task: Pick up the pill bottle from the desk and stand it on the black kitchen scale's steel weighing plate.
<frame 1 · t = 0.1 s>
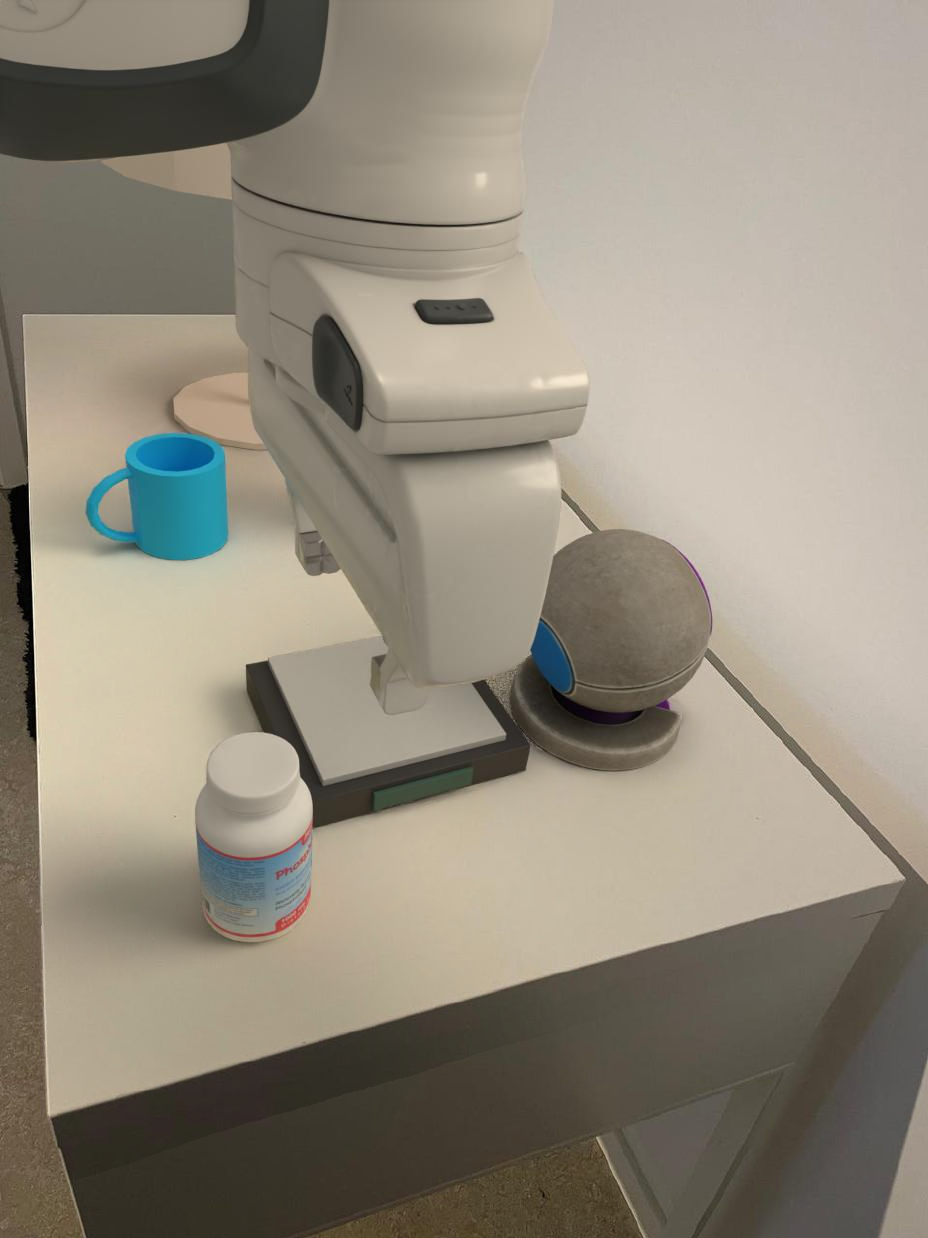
hand: (354, 627, 37), 22 cm above the table, tool pointing down, fingers open, 8 cm apart
scale: (382, 729, 65), on the table
webcam: (591, 711, 69), on the table
pill bottle: (257, 903, 52), on the table
mug: (161, 541, 81), on the table
desk lamp: (262, 412, 105), on the table
speaker: (377, 525, 88), on the table
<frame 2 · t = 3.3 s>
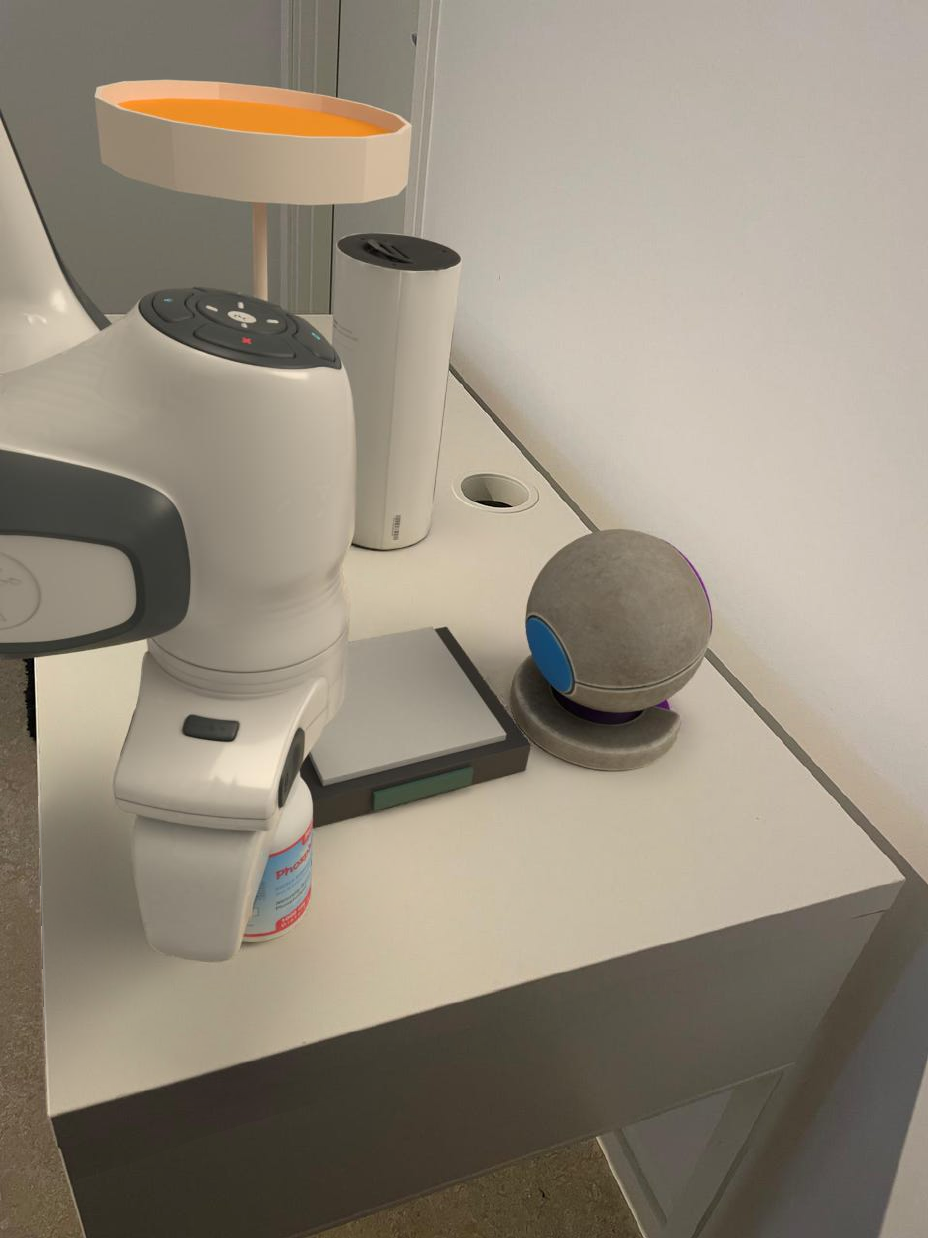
hand: (256, 854, 50), 4 cm above the table, tool pointing down, fingers closed on pill bottle, 6 cm apart
pill bottle: (257, 903, 52), on the table, touching gripper
everything else where it was.
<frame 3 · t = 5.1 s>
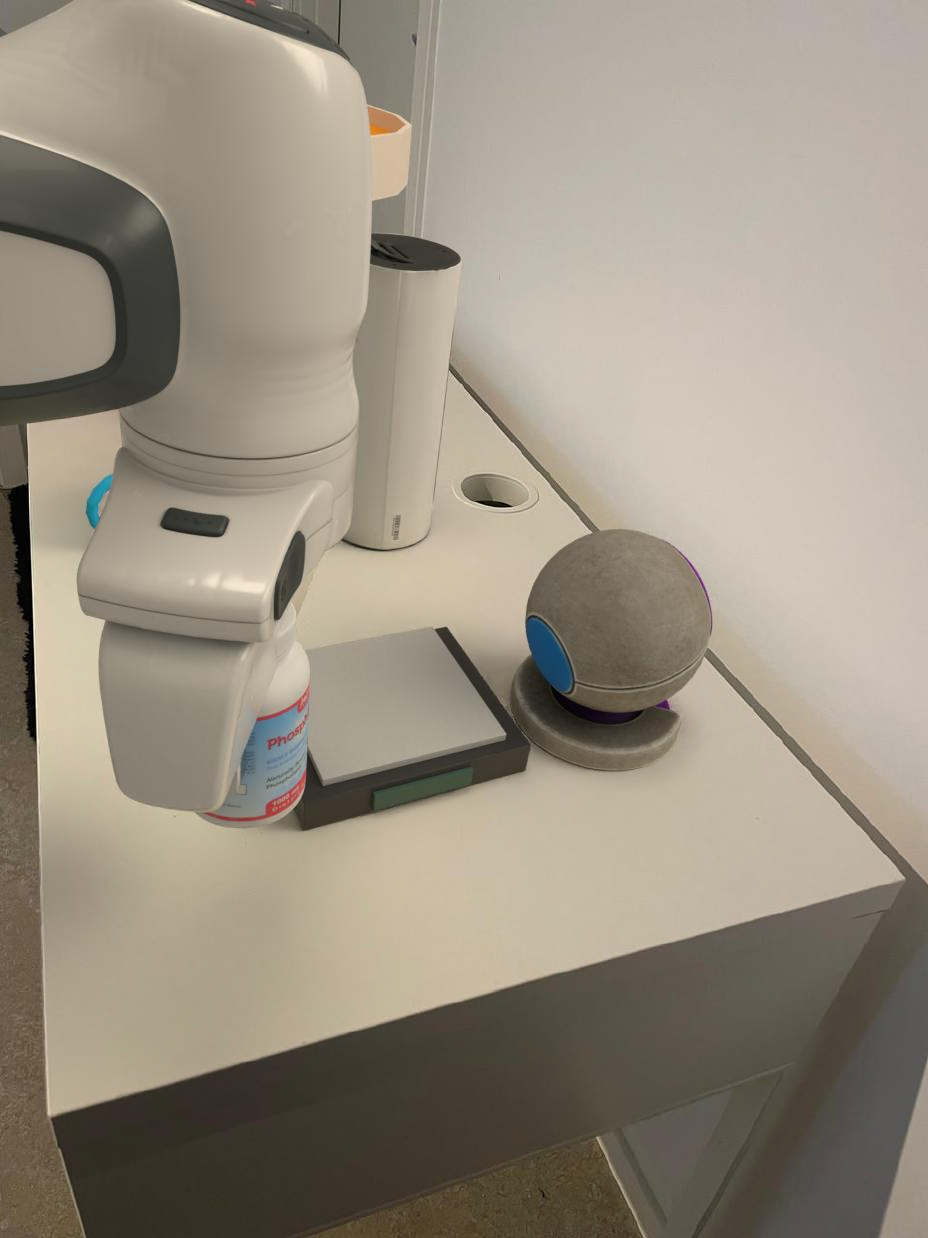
hand: (244, 729, 44), 14 cm above the table, tool pointing down, fingers closed on pill bottle, 6 cm apart
pill bottle: (245, 791, 46), point 9 cm above the table, touching gripper
everything else where it was.
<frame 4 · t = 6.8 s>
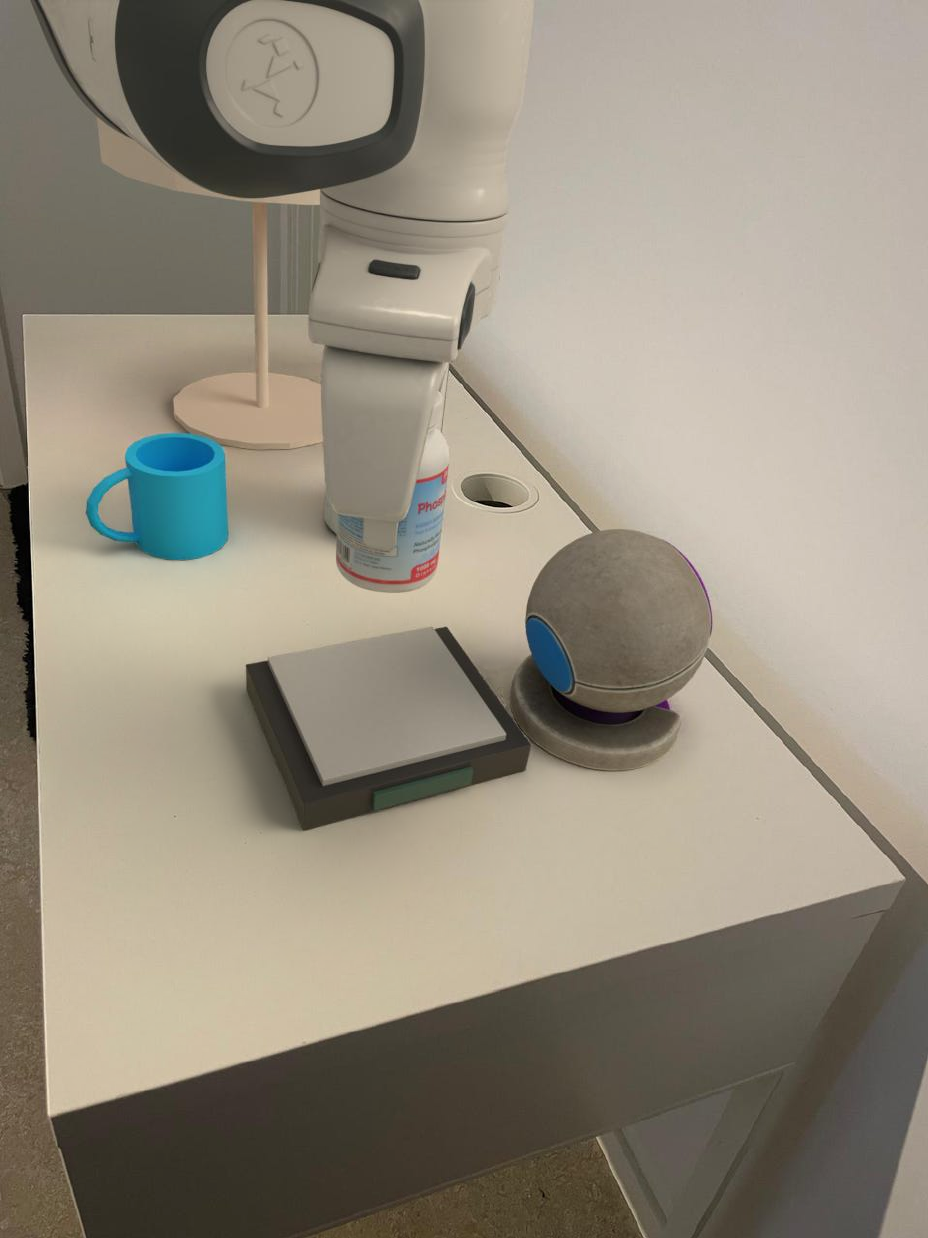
hand: (390, 509, 52), 19 cm above the table, tool pointing down, fingers closed on pill bottle, 6 cm apart
pill bottle: (386, 571, 55), point 15 cm above the table, touching gripper
everything else where it was.
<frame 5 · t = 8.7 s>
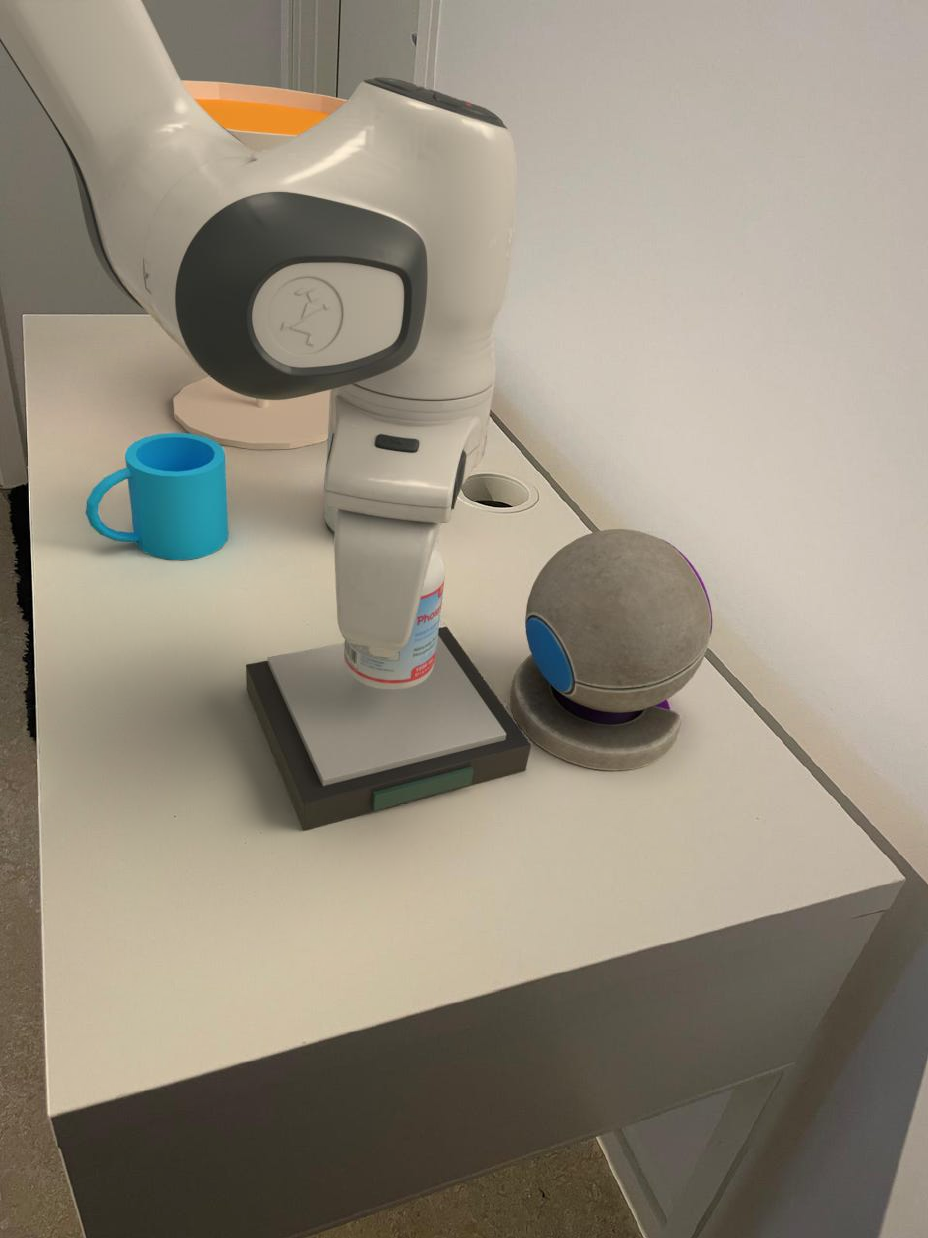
hand: (392, 616, 59), 10 cm above the table, tool pointing down, fingers closed on pill bottle, 6 cm apart
pill bottle: (388, 666, 61), point 6 cm above the table, touching gripper
everything else where it was.
when the fingers open (7 cm above the table, at t = 10.1 s): pill bottle stays where it is, resting on scale.
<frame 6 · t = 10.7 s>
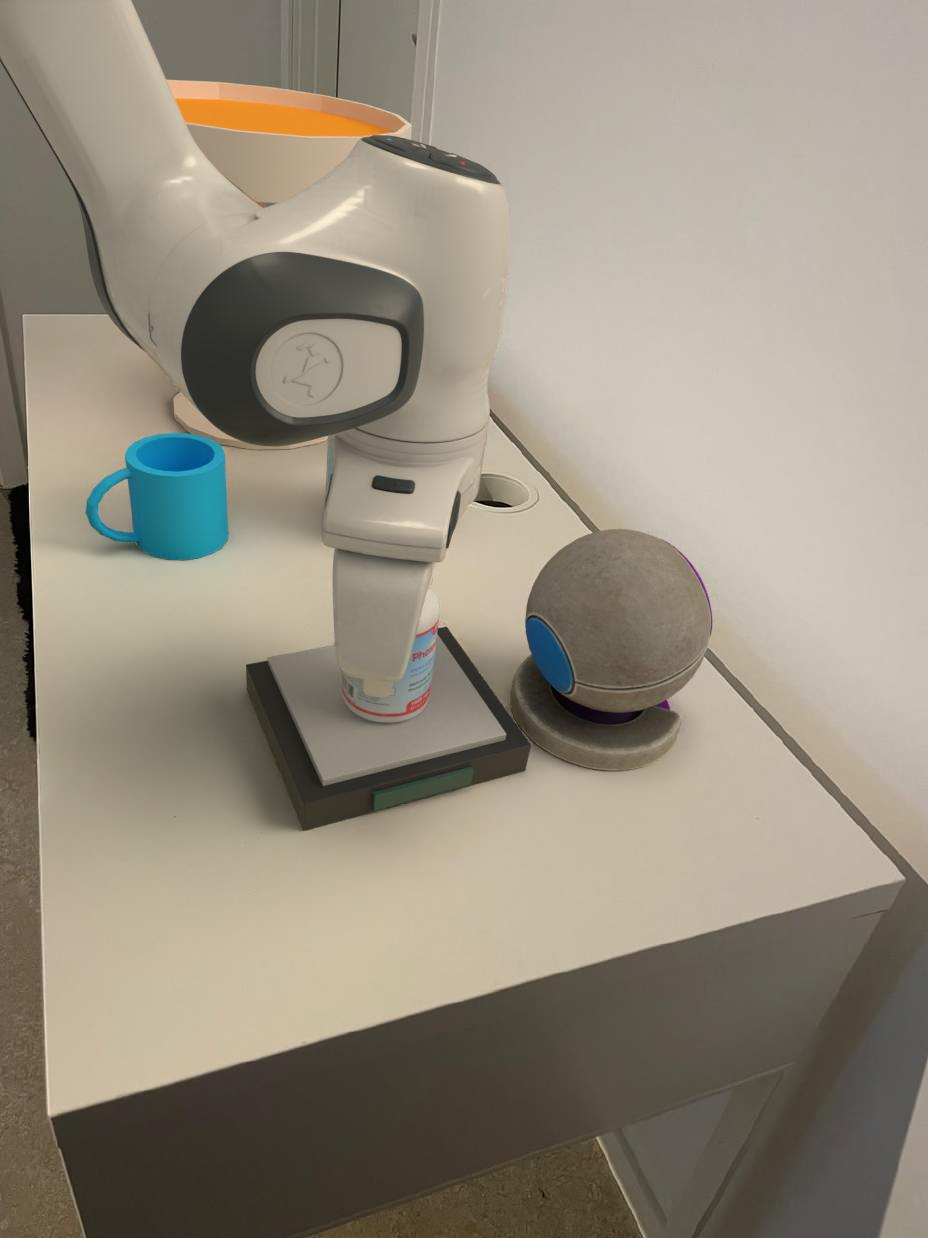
hand: (389, 644, 60), 8 cm above the table, tool pointing down, fingers open, 8 cm apart
pill bottle: (385, 699, 63), point 3 cm above the table, touching scale
everything else where it was.
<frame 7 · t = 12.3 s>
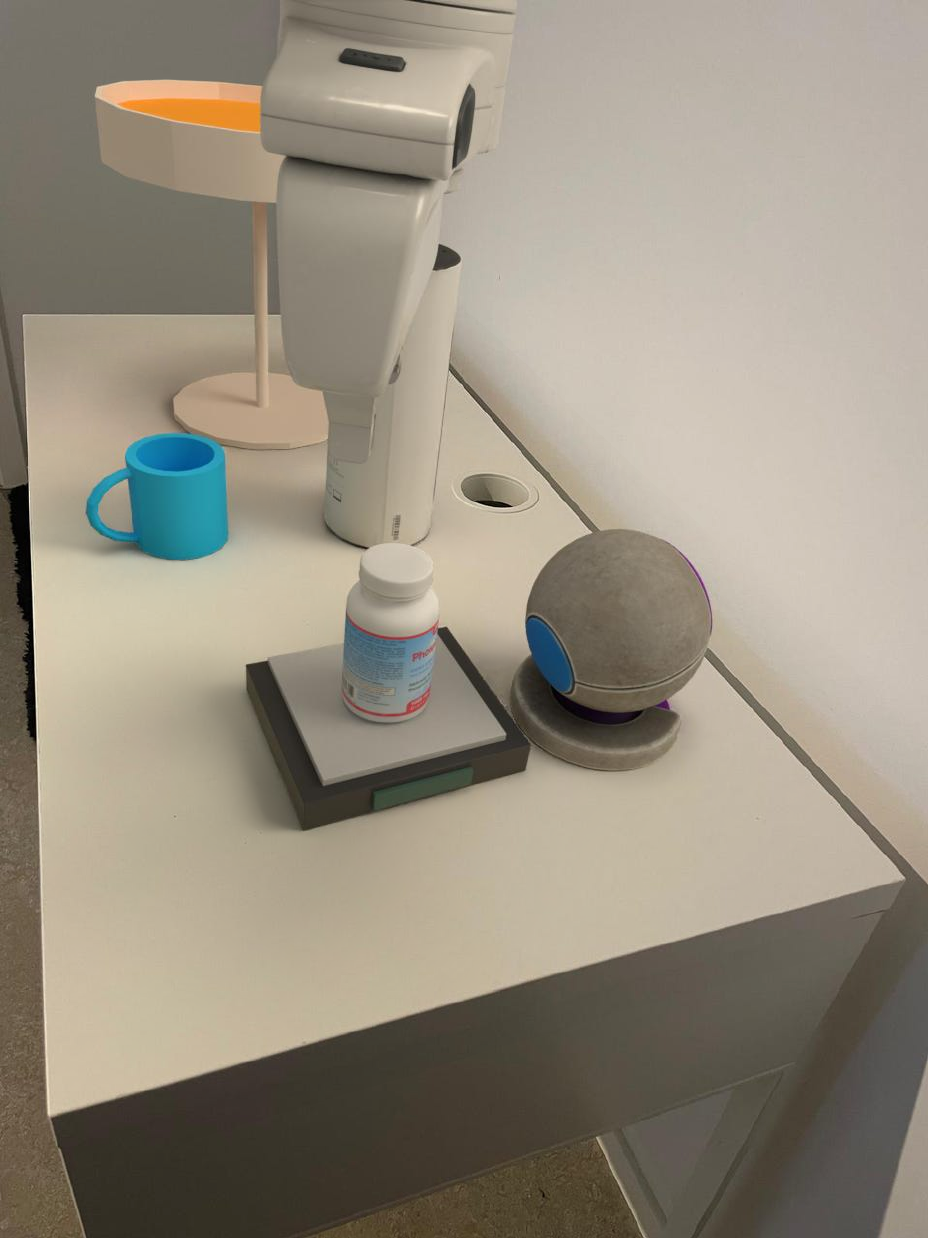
hand: (368, 413, 43), 27 cm above the table, tool pointing down, fingers open, 8 cm apart
nothing on the table moved.
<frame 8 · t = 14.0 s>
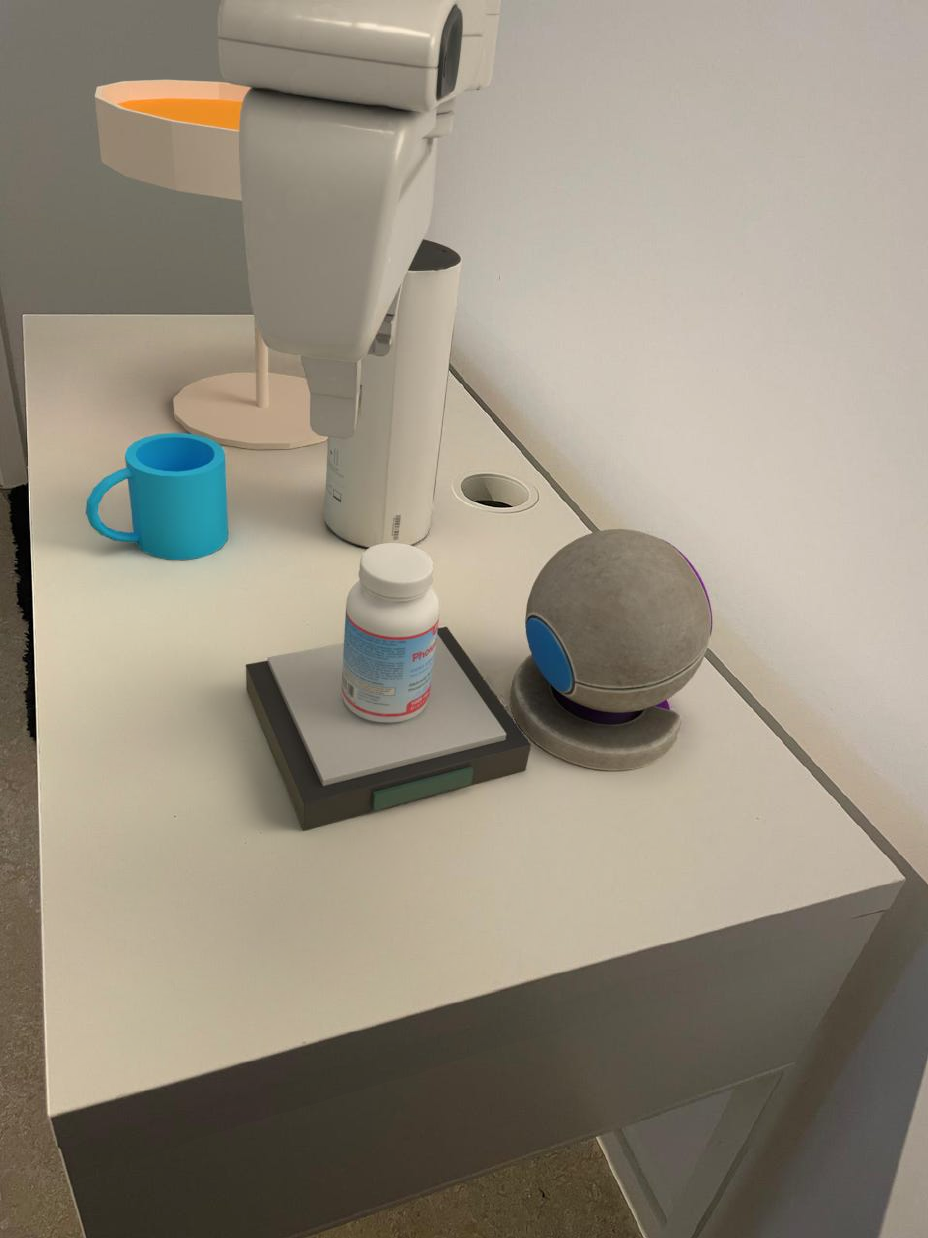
hand: (356, 386, 40), 29 cm above the table, tool pointing down, fingers open, 8 cm apart
nothing on the table moved.
at the end: pill bottle inside the target area on the scale (0.0 cm from its centre), point 2.9 cm above the scale's base; pill bottle tilted 0°; the gripper is holding nothing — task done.
